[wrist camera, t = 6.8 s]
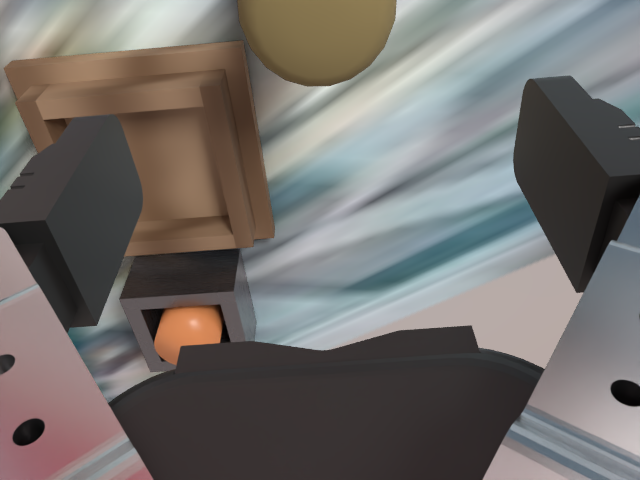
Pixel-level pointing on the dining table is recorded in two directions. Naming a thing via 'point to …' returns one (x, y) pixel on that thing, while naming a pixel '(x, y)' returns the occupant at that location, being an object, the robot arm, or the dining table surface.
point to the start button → (187, 329)
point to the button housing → (187, 295)
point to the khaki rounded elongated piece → (317, 36)
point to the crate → (165, 136)
